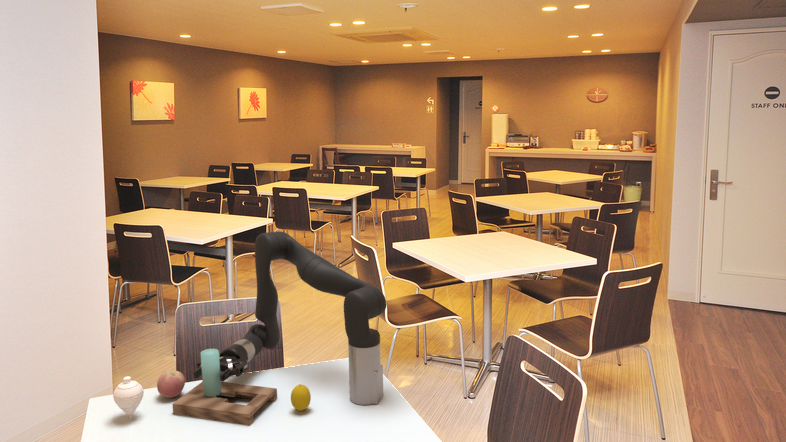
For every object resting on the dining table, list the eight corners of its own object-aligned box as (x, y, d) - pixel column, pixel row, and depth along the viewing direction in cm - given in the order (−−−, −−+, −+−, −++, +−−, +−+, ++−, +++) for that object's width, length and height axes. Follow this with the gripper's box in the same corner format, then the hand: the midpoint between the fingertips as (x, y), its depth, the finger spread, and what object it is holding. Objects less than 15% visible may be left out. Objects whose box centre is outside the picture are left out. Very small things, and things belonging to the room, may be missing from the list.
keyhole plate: (277, 398, 175) (276, 388, 175) (249, 425, 160) (249, 414, 159) (206, 389, 182) (205, 379, 181) (173, 414, 167) (172, 403, 166)
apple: (172, 405, 172) (170, 379, 171) (152, 400, 175) (149, 374, 174) (191, 393, 179) (189, 368, 178) (171, 389, 182) (169, 364, 181)
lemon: (307, 416, 164) (306, 389, 163) (288, 414, 166) (287, 387, 164) (313, 407, 170) (312, 380, 168) (295, 405, 171) (294, 379, 169)
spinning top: (142, 423, 162) (138, 382, 159) (112, 426, 160) (107, 384, 158) (148, 410, 169) (145, 370, 167) (120, 412, 168) (116, 372, 166)
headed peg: (225, 401, 174) (222, 349, 171) (215, 409, 169) (212, 356, 166) (210, 399, 175) (207, 347, 172) (200, 407, 170) (196, 354, 168)
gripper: (216, 341, 186) (185, 361, 170) (257, 345, 182) (229, 366, 166) (218, 364, 187) (187, 386, 172) (259, 368, 183) (231, 392, 168)
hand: (208, 376), depth 169 cm, fingers open, 8 cm apart
